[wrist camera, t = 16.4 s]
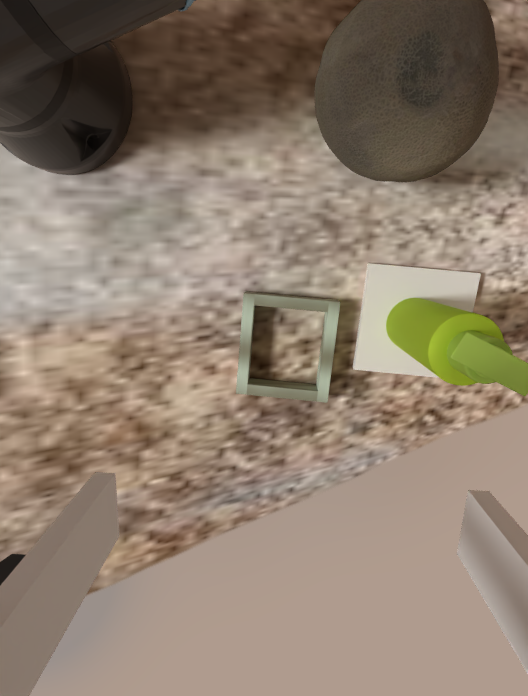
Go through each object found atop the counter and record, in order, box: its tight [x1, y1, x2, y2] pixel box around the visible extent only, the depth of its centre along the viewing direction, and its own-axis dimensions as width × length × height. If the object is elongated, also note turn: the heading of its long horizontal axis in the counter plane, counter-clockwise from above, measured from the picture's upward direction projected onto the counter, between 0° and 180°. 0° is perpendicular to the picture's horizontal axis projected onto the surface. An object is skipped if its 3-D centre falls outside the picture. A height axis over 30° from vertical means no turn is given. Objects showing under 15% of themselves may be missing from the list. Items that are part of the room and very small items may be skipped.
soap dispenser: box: [386, 298, 528, 396], centre depth 34 cm, size 6×7×20 cm
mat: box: [353, 263, 481, 378], centre depth 44 cm, size 12×12×1 cm
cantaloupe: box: [315, 0, 499, 182], centre depth 33 cm, size 14×14×15 cm
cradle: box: [236, 291, 340, 402], centre depth 45 cm, size 11×10×2 cm
